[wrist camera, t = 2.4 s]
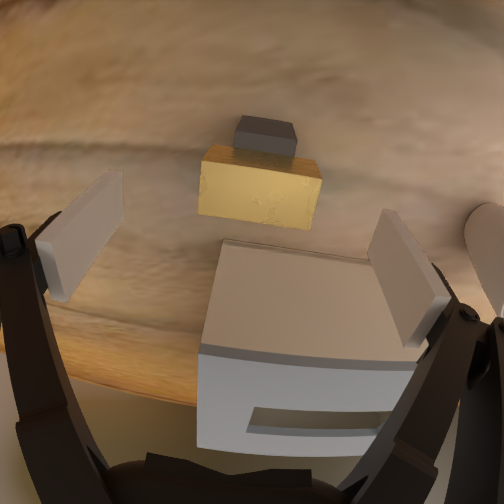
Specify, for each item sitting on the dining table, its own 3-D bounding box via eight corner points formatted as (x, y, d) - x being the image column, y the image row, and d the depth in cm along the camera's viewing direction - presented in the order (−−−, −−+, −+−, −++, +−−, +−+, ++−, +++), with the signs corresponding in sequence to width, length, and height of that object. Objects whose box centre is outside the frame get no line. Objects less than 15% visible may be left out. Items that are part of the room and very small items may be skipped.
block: (242, 115, 21) (235, 130, 17) (291, 123, 21) (297, 140, 17) (234, 178, 24) (225, 208, 20) (279, 186, 24) (281, 216, 20)
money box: (223, 238, 27) (198, 353, 17) (430, 270, 28) (478, 368, 18) (212, 353, 36) (197, 446, 26) (371, 368, 37) (387, 453, 27)
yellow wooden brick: (211, 144, 18) (201, 160, 15) (315, 160, 18) (322, 179, 15) (207, 191, 19) (197, 214, 17) (304, 205, 20) (309, 230, 17)
